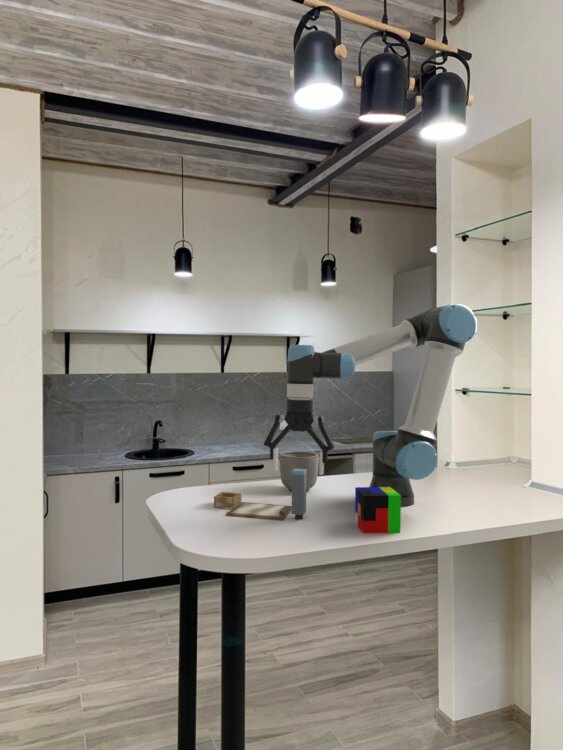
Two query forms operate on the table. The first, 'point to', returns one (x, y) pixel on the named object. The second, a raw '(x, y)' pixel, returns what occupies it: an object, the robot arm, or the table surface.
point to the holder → (227, 500)
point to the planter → (298, 467)
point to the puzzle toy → (377, 509)
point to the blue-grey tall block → (299, 492)
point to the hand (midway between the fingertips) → (298, 472)
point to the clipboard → (260, 511)
